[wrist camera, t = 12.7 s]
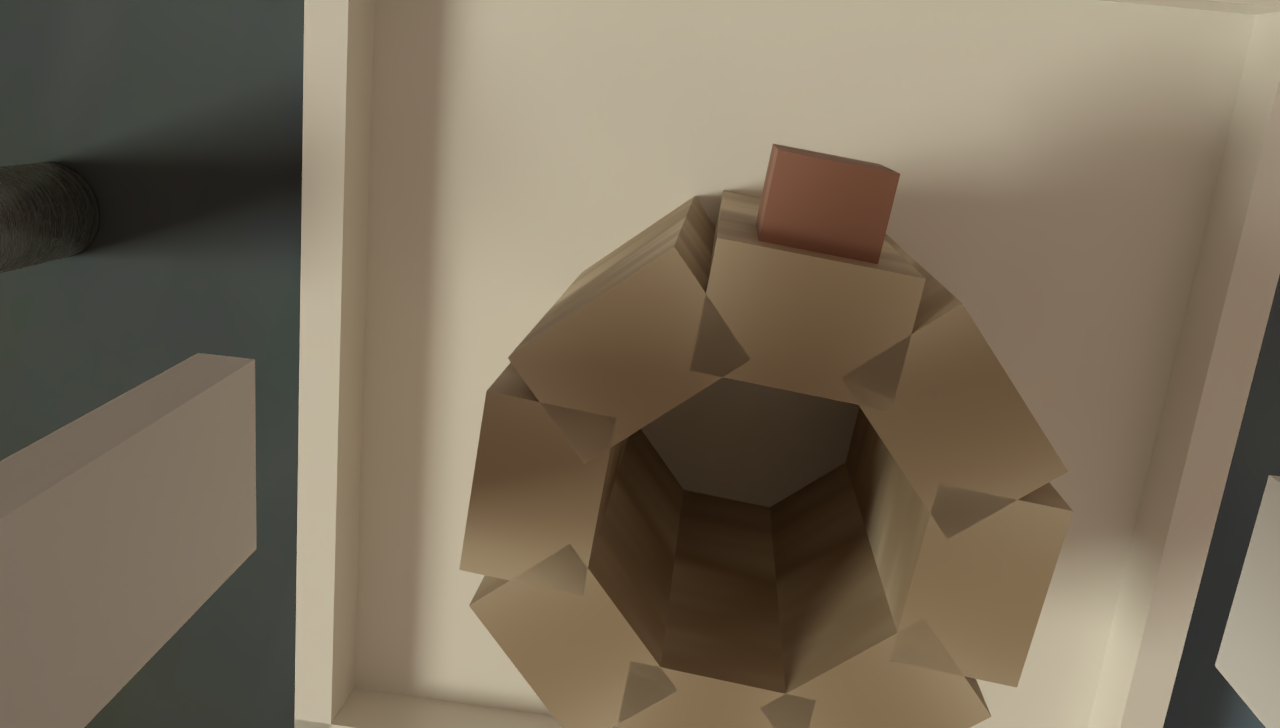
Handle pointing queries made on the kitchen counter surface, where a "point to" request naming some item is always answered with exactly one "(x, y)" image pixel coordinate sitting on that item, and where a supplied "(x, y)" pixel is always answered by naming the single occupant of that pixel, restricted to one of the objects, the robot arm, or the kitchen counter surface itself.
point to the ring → (753, 534)
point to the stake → (44, 214)
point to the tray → (703, 167)
